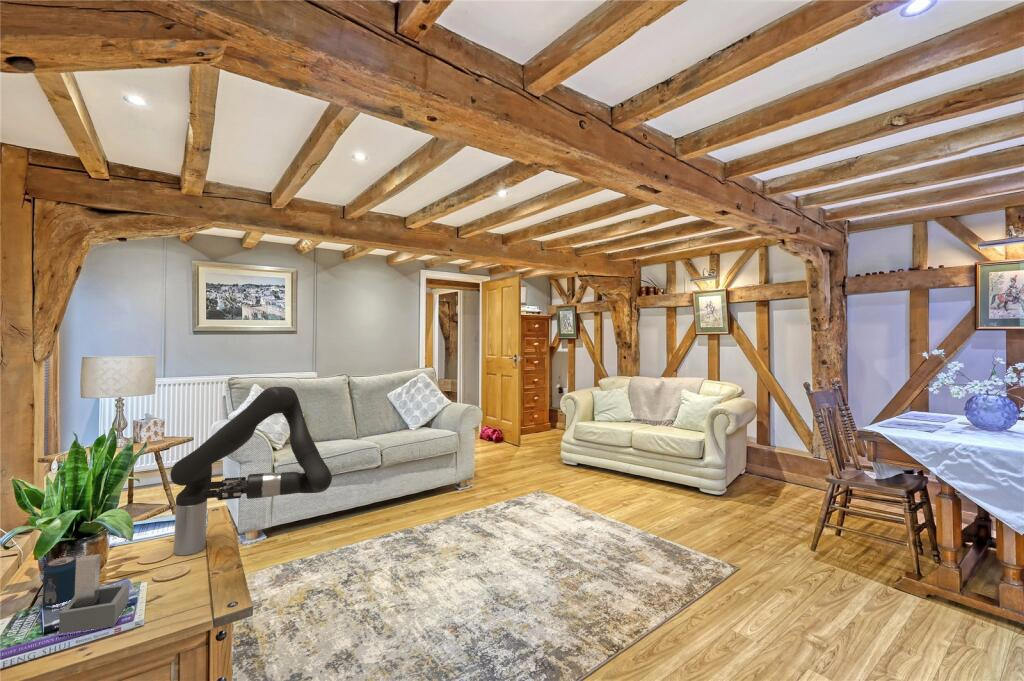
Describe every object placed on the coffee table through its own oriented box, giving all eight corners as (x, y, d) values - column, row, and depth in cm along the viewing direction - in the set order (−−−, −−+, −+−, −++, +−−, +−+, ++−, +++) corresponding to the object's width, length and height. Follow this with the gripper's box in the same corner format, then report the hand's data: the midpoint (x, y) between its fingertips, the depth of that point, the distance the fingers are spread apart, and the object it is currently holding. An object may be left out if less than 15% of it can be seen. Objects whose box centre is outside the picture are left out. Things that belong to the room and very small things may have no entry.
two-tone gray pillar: (78, 615, 122) (80, 556, 122) (99, 612, 124) (101, 553, 124) (72, 623, 119) (74, 562, 119) (93, 619, 121) (96, 559, 121)
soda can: (77, 593, 134) (79, 552, 134) (75, 604, 129) (77, 561, 129) (43, 601, 129) (45, 559, 129) (40, 613, 124) (42, 569, 124)
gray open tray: (78, 612, 125) (78, 590, 125) (128, 604, 129) (129, 583, 129) (58, 637, 115) (59, 613, 115) (114, 627, 120) (115, 604, 120)
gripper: (266, 467, 152) (208, 471, 145) (263, 480, 139) (199, 485, 132) (265, 489, 152) (207, 494, 145) (262, 504, 139) (198, 510, 132)
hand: (204, 490), depth 139 cm, fingers open, 8 cm apart
